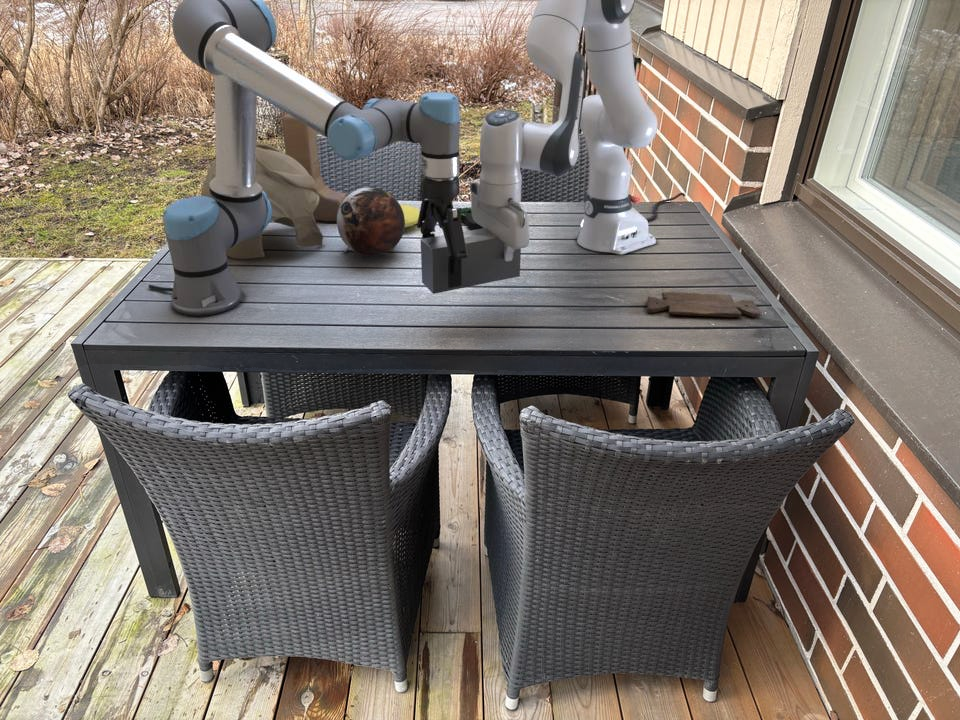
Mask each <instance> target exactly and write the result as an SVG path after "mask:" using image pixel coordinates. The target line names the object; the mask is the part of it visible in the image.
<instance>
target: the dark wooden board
mask: <svg viewBox="0 0 960 720" xmlns="http://www.w3.org/2000/svg"><path fill="white" fill-rule="evenodd" d="M661 297H662V298H659V297H656V296H648V297H647V301H646V302H647V303H646V309H647V313H650V314H652V313H658V312H663V311H667V310H668V315H674V316H699V317H718V318H719V317H721V318H741V317H742V315H745V316H749V317H751V318H753V317H758V318H759V317H761V316H762V315H761V314H762V313H761V312H760V310H759V308H758V306H757V304H756V303H755V301H754V300H751V299H741V300H738V301H734V300H733V297H732V295H731V294H718V293H696V292H692V293H691V292H671V291H669V292H667V291H666V292H664V291H663V292H661Z"/></svg>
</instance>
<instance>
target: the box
mask: <svg viewBox="0 0 960 720" xmlns="http://www.w3.org/2000/svg"><path fill="white" fill-rule="evenodd" d="M463 233H464V239H465V244H466V250H467V255H468V256H467V258H462V285H461V286H458V287H452V288H449V287H448V259H447V258H448V257H449V256H450V254H449V251H448V247H447V244H446V240H445V237H444V234H443V235H437V236H436V235H435V237H430V238H424V239H422V238H420V260H421V261H420V263H421V264H420V265H421V283H422V284H423V285H424V286H425V287H426V288H427V289H428V290H429V292H431V293H432V294H433V295H435V294H440V293H446V292H449V291H455V290H461V289H464V288H469V287H475V286H478V285H484V284H489V283H494V282H498V281H503V280H508V279H513V278H518V277H520V276H521V258H522V257H521V256H522V248H521V249H515V250H514V252H513V259H512V260H511V261H505V260H504V259H503V258H502V256H503V255H502V252H505V248H506V247H505V246H504V245H505V243H504V242H503V241H501V240H500V239H499V237H498V236H496V235H495V234H494V233H492V232H491V231H489V230H488V229H487V228H483V229H477V230H472V229H470V230H466V231H463Z"/></svg>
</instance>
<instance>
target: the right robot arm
mask: <svg viewBox="0 0 960 720" xmlns="http://www.w3.org/2000/svg"><path fill="white" fill-rule="evenodd" d="M635 2H636V0H538V1H537V4H536V6H535V8H534V11H533V14H532V16H531V19H530V23H529V26H528V30H527V32H526V37H525V51H526V54H527V56H528V58H529V60H530V62H531V63H532V65H534V67H536V68H537V70H539V71H540V72H541V73H543V74H545V75H547V76H548V77H550V78H552V79H553V80H555V81H557V82H558V83H559V84H560V85H561V86H562V87H561V88H562V90H561V97H560V104H559V111H558V119H557V121H555V122H554V123H542V122H532V121H529V120H523V119H522V118H521V115H520V113H519V112H518V111H516V110H513V109H498V110H493V111H491V112H489V113H486V115H484V118H483V120H482V124H481V131H480V138H479V139H480V140H479V160H480V165H481V168H480V173H479V180H474V181H471V182H470V183H469V191H470V192H471V196H470V207H471V210H472V217H473V220H474V221H475V222H476V223H478V224H479V225H480V226H482V227H483V228H487V229H488V230H489V231H491V232H492V233H494V234H495V235H496V236H498V237H499V239H500V240H501V241H503V242H504V243H505V245H504V246H505V247H506V248H505V252H502V255H503V256H502V258H503V259H504V260H505V261H511V260H512V259H513V252H514V250H515V249H521V250H522V249H525V248H527V247H528V246H529V244H530V220H529V215H528V213H527V212H526V211H525V210H524V206H523V205H522V203H521V201H522V188H523V187H522V185H523V184H522V183H523V180H522V179H523V177H522V176H523V175H522V172H521V171H522V170H521V169H523V170H530V171H536V172H541V173H544V174H548V175H552V176H556V177H561V176H562V175H564V174H566V173H568V172H569V171H571V170H572V169H573V168H574V167H575V166H576V164H577V161H578V157H579V150H580V132H581V133H582V135H583V138H584V141H585V145H586V150H587V157H588V167H589V168H588V182H587V191H586V192H585V196H584V216H583V219H582V221H581V223H580V227H581V228H580V231H579V234H578V237H577V239H576V242H577V244H578V245H579V246H580V247H582V248H584V249H587V250H590V251H594V252H600V253H611V254H616V255H625V254H628V253H631V252H634V251H637V250H640V249H643V248H646V247H650V246H652V245H655V244H656V243H657V239H656V237H655V236H654V235H653V234H651V233H650V232H649V230H650V229H649V228H650V226H649V222H650V221H652V220H654V219H655V218H656V217H657V215H658V213H657V209H658V206H659V205H660V204H662V203H663V204H664V203H666V202H671V201H675V200H676V199H677V198H679V197H681V196H682V197H684V198H685V197H686V194H685V193H684V192H679V193H677V194H676V195H675V196H674V197H670V198H666V199H661V200H659V201H657V202H656V203H655V204H654V205H653V206H654V207H653V215H652V216H650V217H648V218H646V217H645V216H644V215H642V214H641V213H640V212H638V211H637V210H636V208H634V207H633V203H634V205H639V203H640V202H641V198H640V197H639V196H637V195H636V194H635V195H631V194H630V192H629V191H630V183H631V175H632V165H631V163H630V161H629V159H628V157H627V156H626V153H625V149H632V150H633V149H637V150H638V149H639V150H641V149H644V148H646V147H648V146H649V145H650V144H651V143H652V142H653V140H654V139H655V137H656V135H657V133H658V126H659V122H658V117H657V115H656V114H655V112H654V111H653V110H652V108H651V107H650V106H649V105H648V103H647V101H646V100H645V97H644V95H643V92H642V89H641V88H640V85H639V82H638V78H637V75H636V70H635V62H634V53H633V52H634V51H633V39H632V28H631V23H630V17H629V16H630V15H631V13H632V11H633V9H634V6H635ZM583 27H584V43H585V44H584V45H585V53H586V59H585V57H584V55H583V54H582V53H580V52H579V40H580V37H581V33H582V30H583ZM586 62H587V64H586ZM586 65H587V66H586ZM587 72H588V78H589V81H590V83H591V85H592V86H593V87H594V89H595V90H596V92H597V93H598V94H591V95H588V96H586V97H585V88H586V77H587ZM584 97H585V98H584ZM580 130H581V131H580Z"/></svg>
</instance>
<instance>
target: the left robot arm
mask: <svg viewBox="0 0 960 720" xmlns="http://www.w3.org/2000/svg"><path fill="white" fill-rule="evenodd" d="M171 27H172V34H173V37H174V40H175V43H176V45H177V46H178V48H179V49H180V51H181V52H182V53H183V54H184V56H185V57H186V58H188V59H189V60H190V61H191V62H192V63H193V64H194V65H196V66H197V67H199V68H201V69H202V70H204V71H206V72H207V73H209V74H211V75H213V76H214V77H213V78H214V80H213V81H214V124H215V125H214V128H215V130H214V131H215V161H216V177H215V178H214V179H212V180H211V181H210V183H209V189H210V197H206V196H201V195H196V196H195V195H194V196H189V197H188V198H187V197H184V198H181V199H178V200H176V201H173V202H171V203H170V204H169V205H168V206H166V208H165V209H164V211H163V214H162V219H163V230H164V231H163V232H164V234H165V238H166V242H167V246H168V247H167V248H168V251H169V255H170V258H171V259H170V260H171V264H172V268H173V272H174V279H173V285H172V287H165V286H157V285H153V284H149V285H148V288H149V289H153V290H156V291H160V292H161V291H162V292H172V294H171V302H172V303H171V304H172V308H173V310H175V311H176V312H177V313H180V314H182V315H186V316H192V317H203V316H212V315H213V316H214V315H217V314H221V313H224V312H228V311H229V310H231V309H234V308H235V307H237V306H238V305H239V304H240V303H241V301H242V300H243V295H242V289H241V287H240V285H239V283H238V281H237V280H236V278H235V276H234V274H233V272H232V270H231V269H230V267H229V262H228V255H226V250H227V249H229V248H231V247H233V246H235V245H237V244H239V243H241V242H243V241H245V240H247V239H249V238H252V237H254V236H256V235H258V234H259V233H260V232H261V231H263V232H264V230H265V229H267V227H268V226H269V224H270V223H271V222H270V219H271V215H272V209H271V203H270V201H269V200H268V199H267V198H266V197H267V195H266V193H265V192H264V191H263V190H262V185H261V184H260V183H259V182H258V181H257V180H256V141H257V115H258V114H257V110H258V108H257V107H258V97H259V98H260V99H262V100H264V101H266V102H267V103H269V104H271V105H272V106H274V107H276V108H277V109H279V110H280V111H282V112H284V113H286V114H289V115H290V116H292V117H294V118H295V119H297V120H299V121H300V122H302V123H304V124H305V125H307V126H309V127H310V128H312V129H314V130H315V131H316V133H318V134H320V135H322V136H323V137H325V138H326V139H327V141H328V145H329V147H330V148H331V150H332V151H333V152H334V154H335V155H336V156H337V157H338V158H340V159H342V160H345V161H353V160H359V159H361V158H365V157H367V156H369V155H371V154H372V153H374V152H376V151H378V150H380V149H384V148H385V147H388V146H390V145H393V144H394V143H396V142H404V143H411V144H420V157H421V160H420V161H419V166H421V174H422V175H423V176H422V177H421V204H420V207H419V211H420V213H419V218H418V223H416V227H417V228H418V229H419V230H420V234H421V239H424V238H430V237H436V234H435V232H437V231H436V227H437V224H438V227H439V229H442V233H443V235H444V237H445V240H446V244H447V247H448V251H449V254H450V256H449V257H448V258H447V259H448V287H449V288H452V287H458V286H461V285H462V258H467V256H468V255H467V250H466V244H465V239H464V233H463V232H464V228H463V223H462V221H461V211H460V208H461V207H455V208H454V203H453V202H454V201H453V200H454V199H455V198H457V197H458V196H460V177H459V175H460V171H461V169H460V168H461V167H460V166H461V154H460V133H461V131H460V130H461V129H460V128H461V127H460V126H461V125H460V124H461V114H460V101H459V98H458V96H456V95H455V94H454V93H450V92H444V91H443V92H442V91H440V92H438V91H430V92H426V93H423V94H421V95H420V98H419V102H415V101H414V102H413V101H406V100H405V101H404V100H396V99H390V98H387V97H383V98H370V99H369V100H367V101H366V103H365V104H364V106H363V107H362V109H360V108H358V107H356V106H355V105H353V104H352V103H350V102H348V101H347V100H345V99H343V98H341V97H340V96H338V95H336V94H335V93H333V92H331V91H330V90H328V89H326V88H325V87H323V86H322V85H320V84H318V83H316V82H315V81H314V80H311V79H310V78H308V77H306V76H305V75H304V74H302V73H300V72H299V71H296V70H295V69H294V68H292V67H290V66H288V65H287V64H285V63H284V62H282V61H280V60H279V59H277V58H275V57H274V56H272V55H270V54H268V53H267V52H269V51H270V49H271V48H272V47H273V46H274V45H275V43H276V40H277V36H278V35H277V34H278V30H277V23H276V19H275V17H274V14H273V12H272V10H271V9H270V8H269V7H268V6H267V4H266V2H265V1H264V0H182V1H181V2H180V3H179V4H178V5H177V6H176V8H175V11H174V12H173V17H172V26H171ZM269 222H270V223H269Z"/></svg>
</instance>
